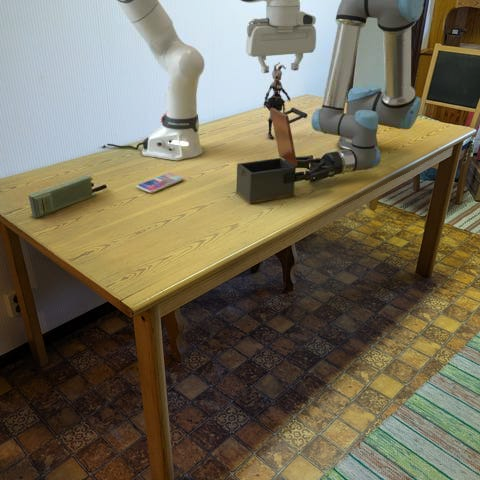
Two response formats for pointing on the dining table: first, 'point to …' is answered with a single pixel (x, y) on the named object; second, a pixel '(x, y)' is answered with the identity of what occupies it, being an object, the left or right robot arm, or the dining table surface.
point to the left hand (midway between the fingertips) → (280, 71)
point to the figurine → (275, 95)
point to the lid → (285, 133)
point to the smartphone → (159, 182)
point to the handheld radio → (62, 195)
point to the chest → (264, 180)
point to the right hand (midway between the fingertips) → (276, 173)
